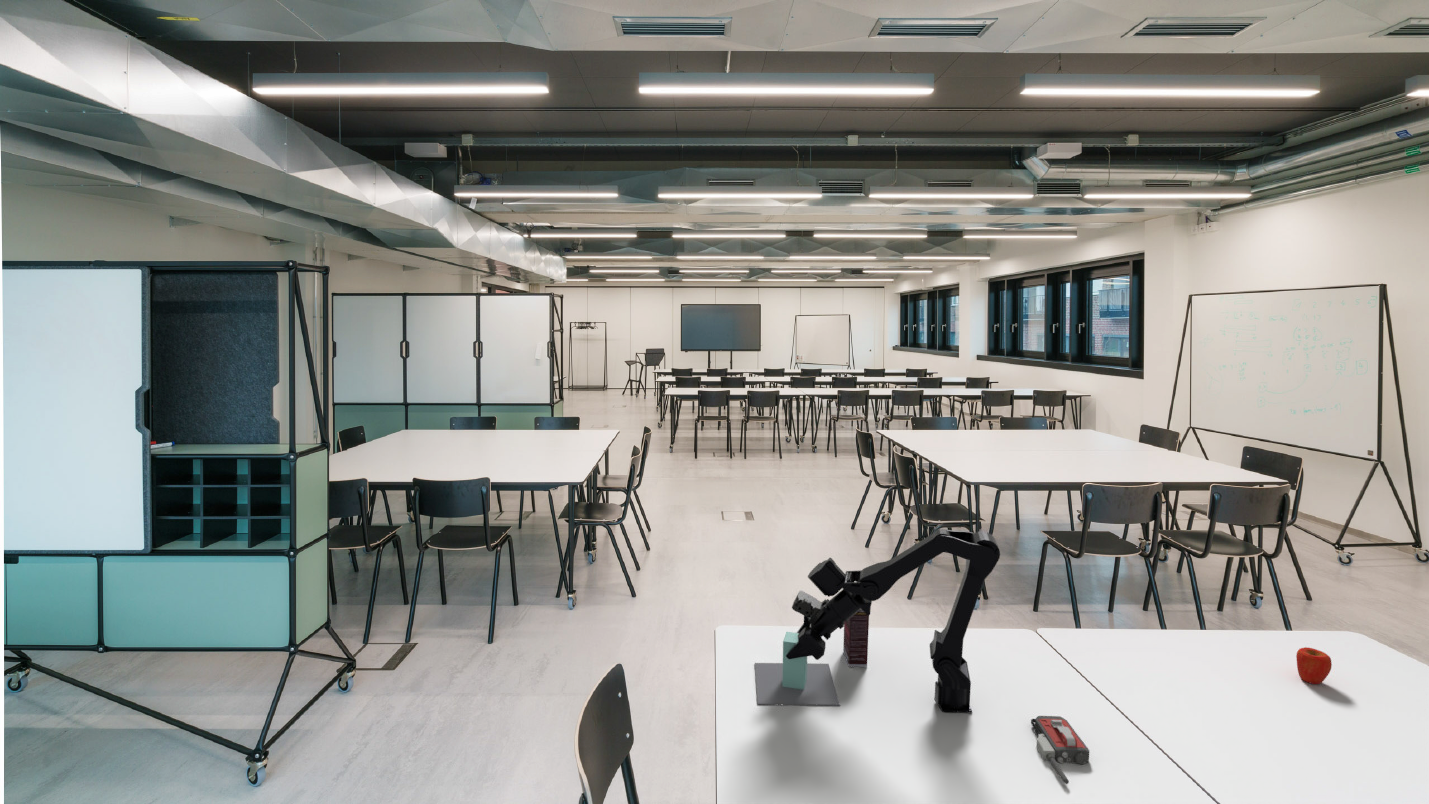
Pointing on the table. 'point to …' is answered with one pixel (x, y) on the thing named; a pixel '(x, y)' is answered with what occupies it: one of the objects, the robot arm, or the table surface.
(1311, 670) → the apple
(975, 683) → the table surface
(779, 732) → the table surface
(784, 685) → the teal block
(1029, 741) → the table surface
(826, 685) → the charcoal mat
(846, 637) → the supplement box
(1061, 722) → the walkie-talkie
